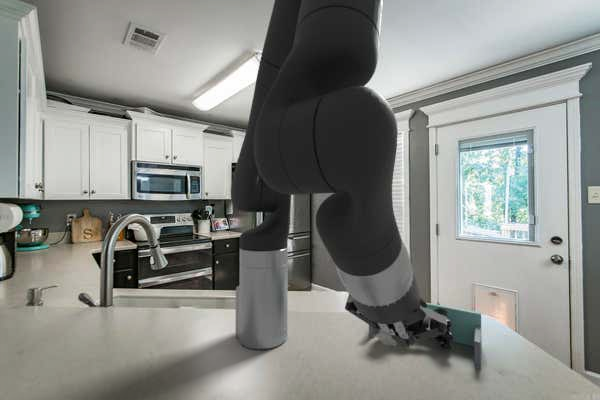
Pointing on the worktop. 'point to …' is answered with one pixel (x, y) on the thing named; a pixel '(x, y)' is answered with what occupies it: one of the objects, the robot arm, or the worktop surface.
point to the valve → (444, 338)
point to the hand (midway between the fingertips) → (404, 339)
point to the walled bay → (459, 328)
